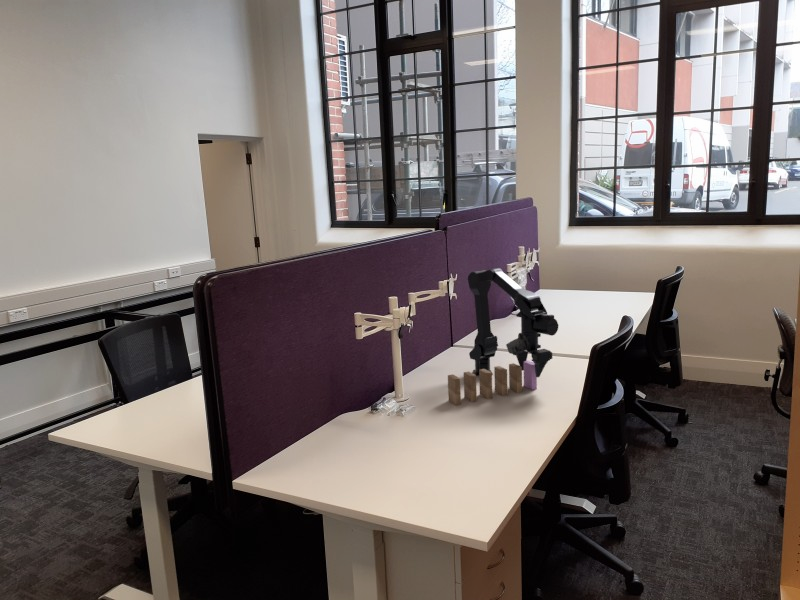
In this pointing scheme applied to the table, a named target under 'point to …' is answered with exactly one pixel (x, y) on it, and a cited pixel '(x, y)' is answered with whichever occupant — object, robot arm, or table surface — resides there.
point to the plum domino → (530, 375)
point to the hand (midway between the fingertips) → (530, 373)
